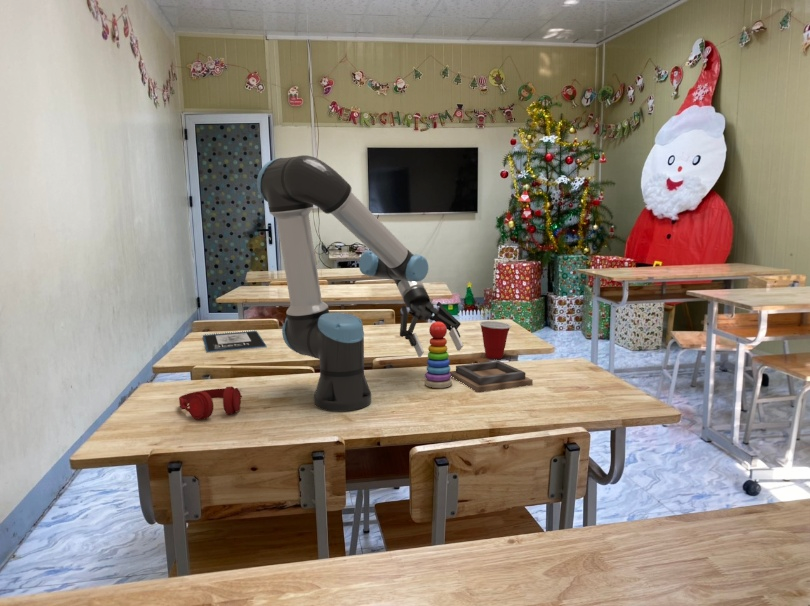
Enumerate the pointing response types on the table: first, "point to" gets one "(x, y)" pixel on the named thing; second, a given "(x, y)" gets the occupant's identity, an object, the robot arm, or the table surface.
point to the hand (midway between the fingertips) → (441, 351)
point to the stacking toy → (438, 358)
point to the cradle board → (490, 376)
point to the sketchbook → (233, 341)
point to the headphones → (210, 402)
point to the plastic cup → (494, 338)
